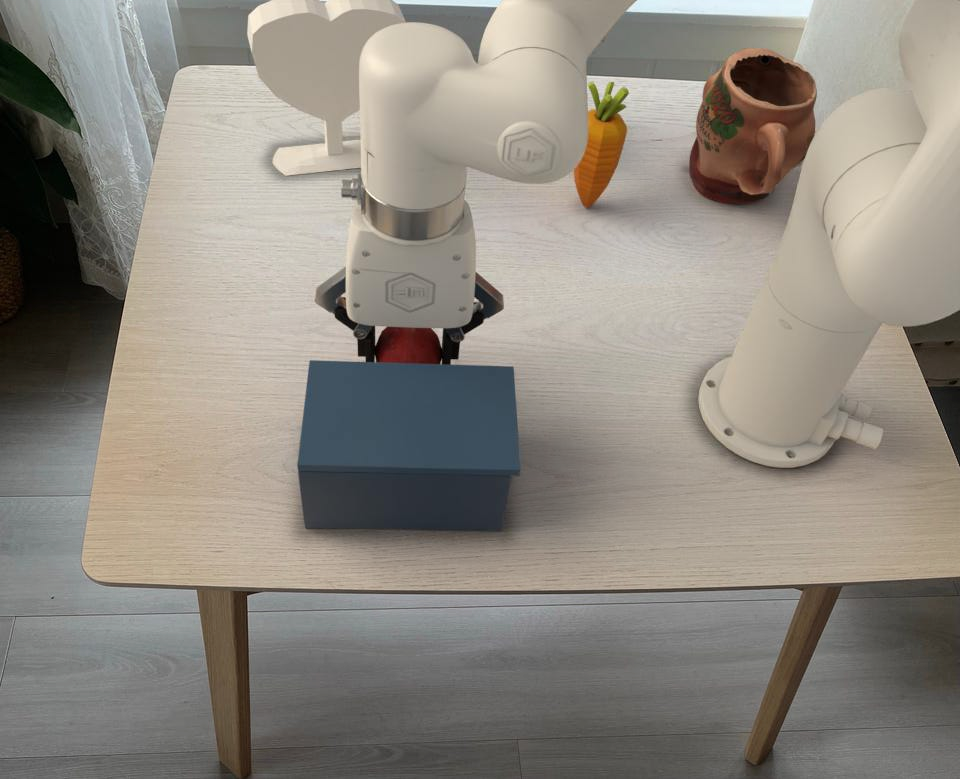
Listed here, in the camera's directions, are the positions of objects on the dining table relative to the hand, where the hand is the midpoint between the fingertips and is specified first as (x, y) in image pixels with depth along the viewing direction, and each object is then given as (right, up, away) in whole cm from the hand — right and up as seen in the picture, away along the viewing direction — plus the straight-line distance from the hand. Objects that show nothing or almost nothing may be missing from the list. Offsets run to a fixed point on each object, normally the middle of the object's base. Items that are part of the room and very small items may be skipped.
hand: (408, 358), depth 83 cm
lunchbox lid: (+1, -5, -10) cm, 12 cm away
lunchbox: (0, -10, -4) cm, 11 cm away
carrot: (+18, +17, +20) cm, 32 cm away
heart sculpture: (-10, +23, +22) cm, 34 cm away
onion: (0, -2, +2) cm, 3 cm away
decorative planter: (+35, +20, +24) cm, 47 cm away
